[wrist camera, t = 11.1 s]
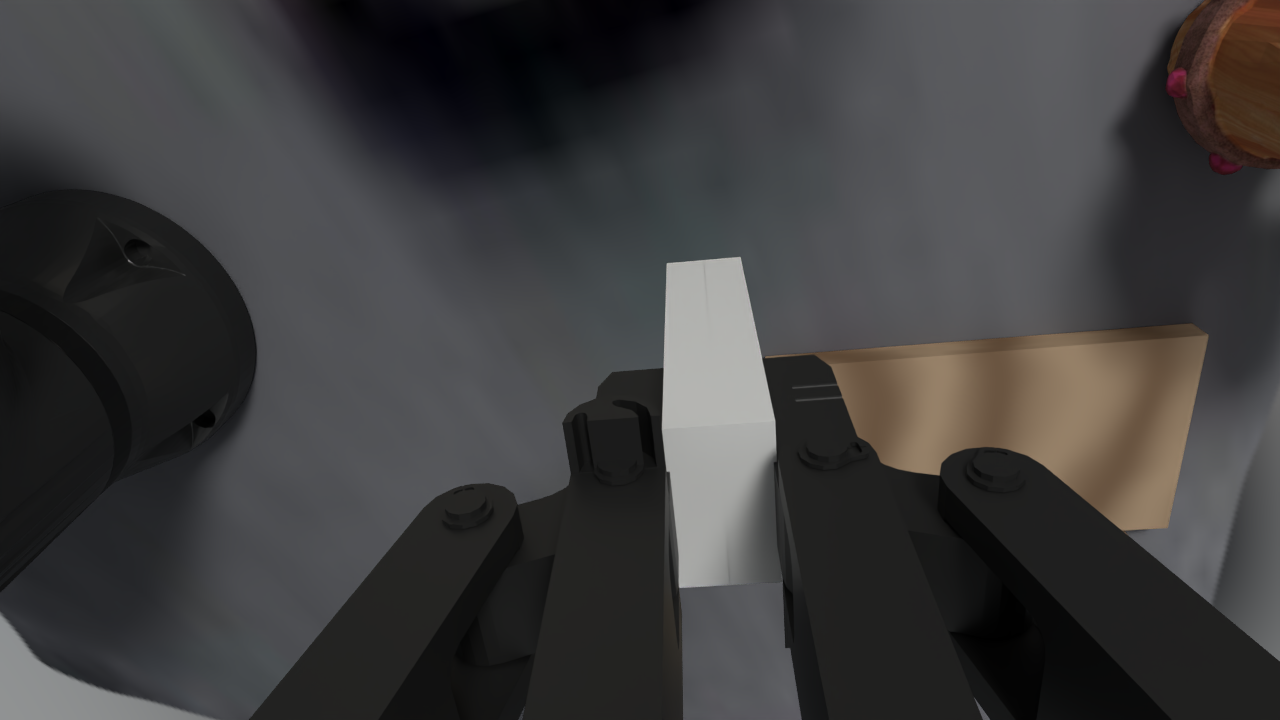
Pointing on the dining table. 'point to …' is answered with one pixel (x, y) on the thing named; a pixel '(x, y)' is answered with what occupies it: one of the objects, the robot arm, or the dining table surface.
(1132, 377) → the floorboard
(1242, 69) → the mug
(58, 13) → the dining table surface
